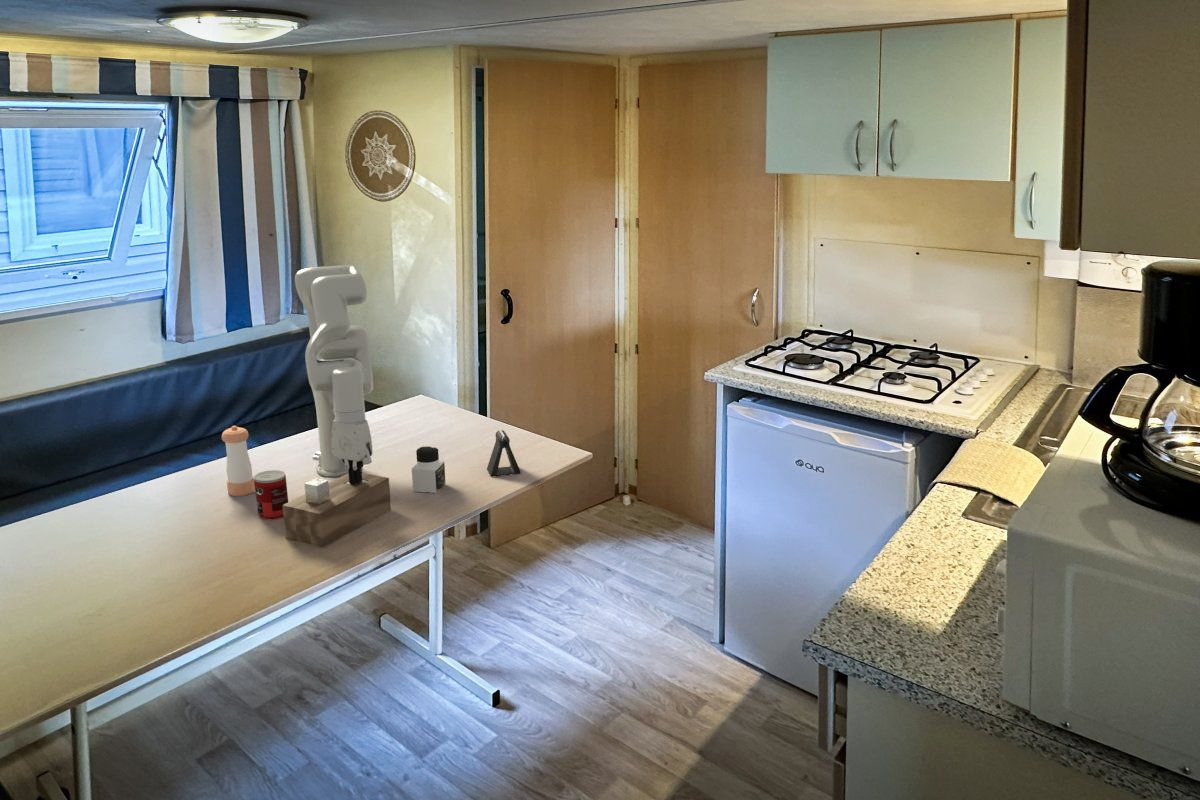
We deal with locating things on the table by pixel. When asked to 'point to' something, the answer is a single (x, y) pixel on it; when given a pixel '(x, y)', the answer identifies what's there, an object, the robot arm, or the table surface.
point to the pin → (317, 491)
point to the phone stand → (496, 457)
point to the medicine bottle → (428, 471)
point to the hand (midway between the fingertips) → (355, 482)
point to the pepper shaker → (238, 462)
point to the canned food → (270, 493)
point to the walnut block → (337, 511)
